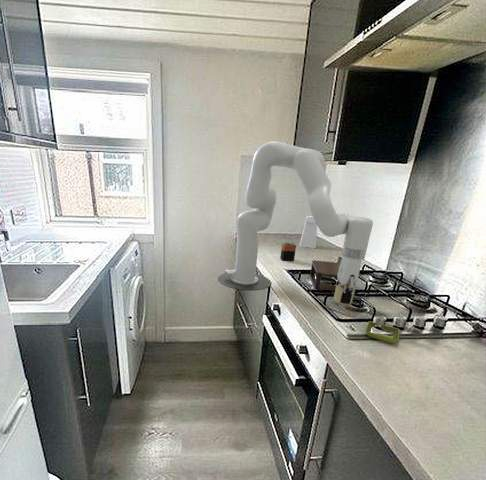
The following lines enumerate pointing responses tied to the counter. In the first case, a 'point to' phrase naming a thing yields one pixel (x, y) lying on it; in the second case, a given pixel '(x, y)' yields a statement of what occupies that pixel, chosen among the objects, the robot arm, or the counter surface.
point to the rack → (324, 273)
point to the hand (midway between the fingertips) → (342, 298)
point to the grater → (309, 235)
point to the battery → (288, 251)
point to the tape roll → (339, 293)
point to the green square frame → (383, 337)
